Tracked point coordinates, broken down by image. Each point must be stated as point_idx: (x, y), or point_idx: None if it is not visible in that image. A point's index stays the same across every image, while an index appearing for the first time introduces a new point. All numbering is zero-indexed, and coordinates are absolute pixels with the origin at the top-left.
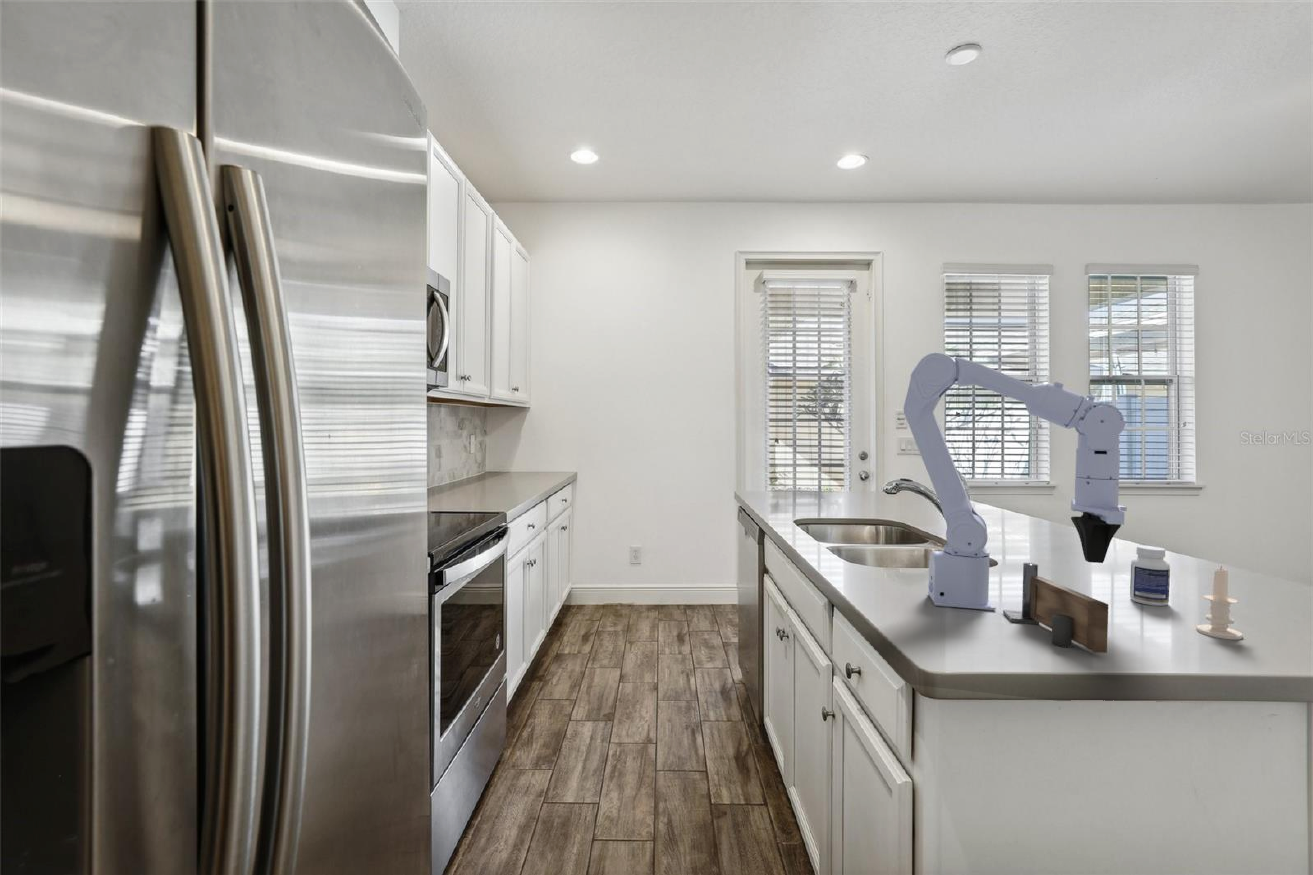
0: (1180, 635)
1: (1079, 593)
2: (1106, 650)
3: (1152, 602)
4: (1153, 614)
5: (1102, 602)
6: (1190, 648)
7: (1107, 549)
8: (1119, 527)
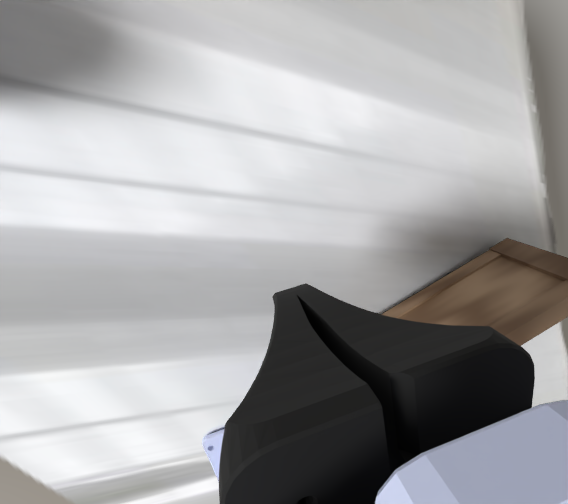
0: (293, 50)
1: (534, 322)
2: (511, 240)
3: None
4: (81, 61)
5: None
6: (392, 62)
7: (336, 299)
8: (488, 329)
